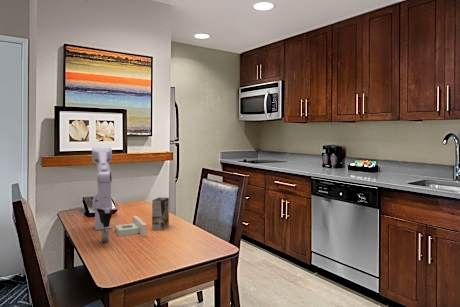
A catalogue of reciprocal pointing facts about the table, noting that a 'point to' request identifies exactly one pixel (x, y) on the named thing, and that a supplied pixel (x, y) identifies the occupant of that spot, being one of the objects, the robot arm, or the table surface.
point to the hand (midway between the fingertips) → (104, 224)
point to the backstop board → (140, 225)
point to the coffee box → (160, 213)
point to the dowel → (105, 236)
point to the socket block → (126, 229)
